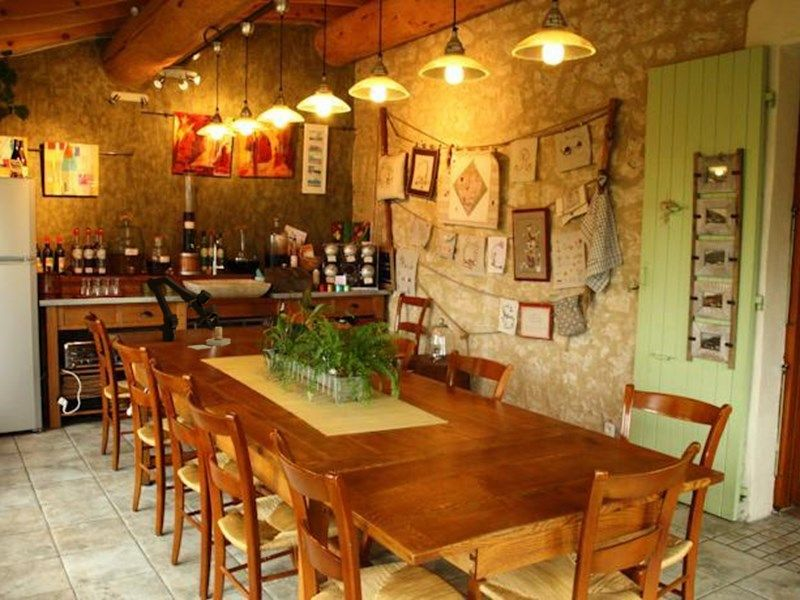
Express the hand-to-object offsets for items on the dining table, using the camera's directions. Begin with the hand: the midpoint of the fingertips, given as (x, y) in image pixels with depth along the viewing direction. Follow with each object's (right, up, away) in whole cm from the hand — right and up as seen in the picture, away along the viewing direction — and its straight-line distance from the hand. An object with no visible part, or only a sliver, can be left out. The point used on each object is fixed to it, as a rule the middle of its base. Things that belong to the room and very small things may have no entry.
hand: (216, 329), depth 456 cm
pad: (-7, -10, -13) cm, 18 cm away
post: (+1, -9, 0) cm, 9 cm away
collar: (+1, -9, 0) cm, 9 cm away
